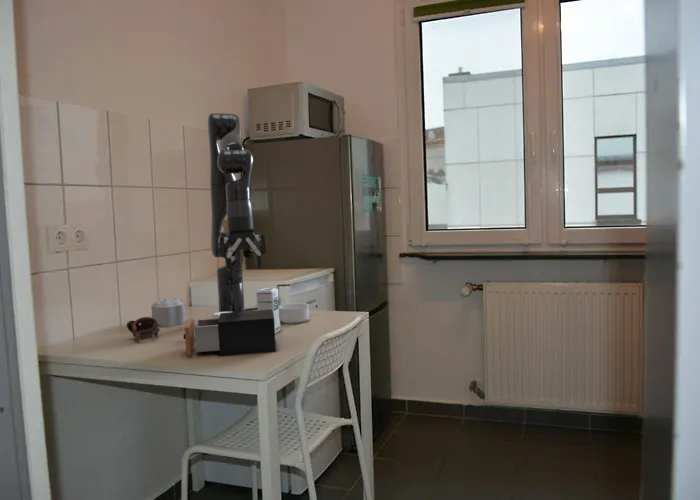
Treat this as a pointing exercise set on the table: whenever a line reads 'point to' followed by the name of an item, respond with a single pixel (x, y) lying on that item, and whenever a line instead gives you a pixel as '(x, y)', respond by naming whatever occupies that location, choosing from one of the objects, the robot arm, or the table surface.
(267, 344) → the small drawer unit
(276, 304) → the syrup box
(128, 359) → the table surface
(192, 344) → the orange pull-out drawer
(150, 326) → the brown hollow curved piece
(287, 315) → the saucepan
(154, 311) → the lumpy-topped squat cylinder
